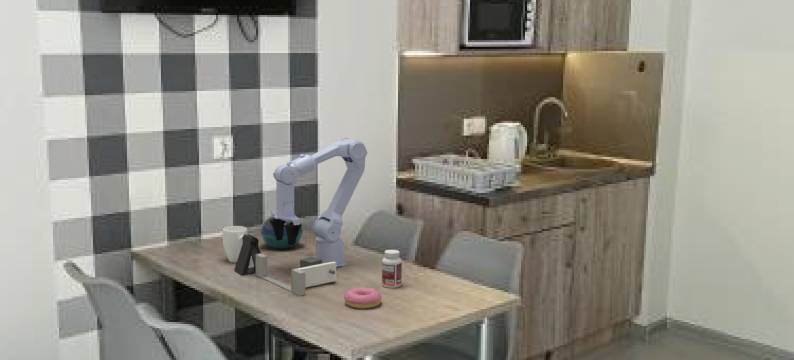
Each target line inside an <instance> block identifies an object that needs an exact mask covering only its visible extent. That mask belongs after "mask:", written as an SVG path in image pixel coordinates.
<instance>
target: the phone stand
mask: <svg viewBox="0 0 794 360" xmlns="http://www.w3.org/2000/svg"><path fill="white" fill-rule="evenodd" d="M242 240H243V243H242V247H241V250H240V253H239V256H238V260H237V262H235V267H234V271H235V272H236V273H238V274H240V276H247V275H253V274H256V254H260V253H261V250H260V247H259V246H260V245H259V243H260V242H259V238H257V237H255V236H254V235H251V234H250V233H247V235H246V234H245V235H243V237H242ZM261 254H262V253H261ZM251 260H252V263H253V264H252V265H253V266H251V267H249V266H250V261H251Z"/></svg>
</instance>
